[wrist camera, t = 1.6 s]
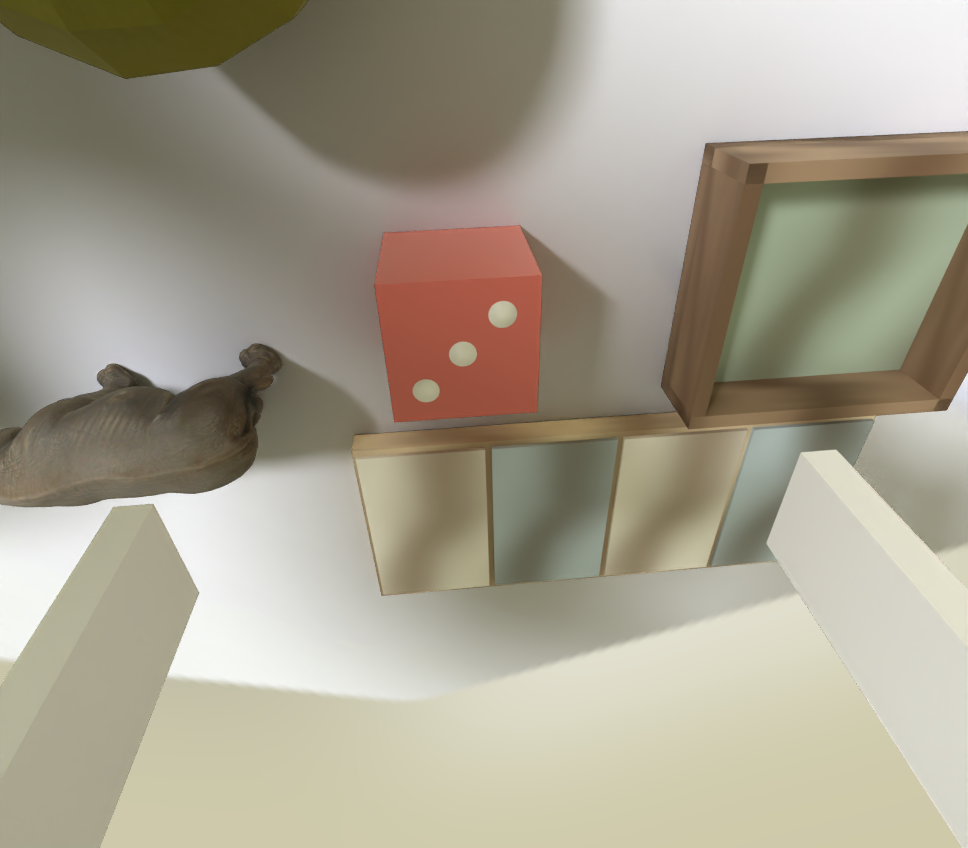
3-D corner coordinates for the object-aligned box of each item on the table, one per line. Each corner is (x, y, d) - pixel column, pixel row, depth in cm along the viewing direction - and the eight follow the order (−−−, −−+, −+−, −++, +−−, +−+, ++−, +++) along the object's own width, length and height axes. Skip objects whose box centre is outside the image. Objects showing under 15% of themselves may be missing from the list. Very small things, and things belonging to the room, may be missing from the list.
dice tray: (660, 386, 26) (688, 429, 23) (705, 143, 20) (749, 163, 17) (893, 370, 26) (946, 410, 24) (1004, 129, 20) (1091, 147, 18)
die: (399, 352, 24) (394, 422, 20) (383, 231, 21) (374, 285, 17) (518, 344, 24) (537, 412, 20) (519, 224, 21) (542, 275, 17)
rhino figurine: (-64, 387, 23) (-195, 488, 18) (269, 326, 23) (227, 413, 18) (3, 464, 25) (-97, 571, 20) (304, 410, 25) (276, 506, 20)
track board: (382, 577, 32) (381, 598, 31) (353, 435, 26) (350, 454, 25) (798, 542, 33) (811, 561, 32) (861, 398, 27) (880, 415, 26)
